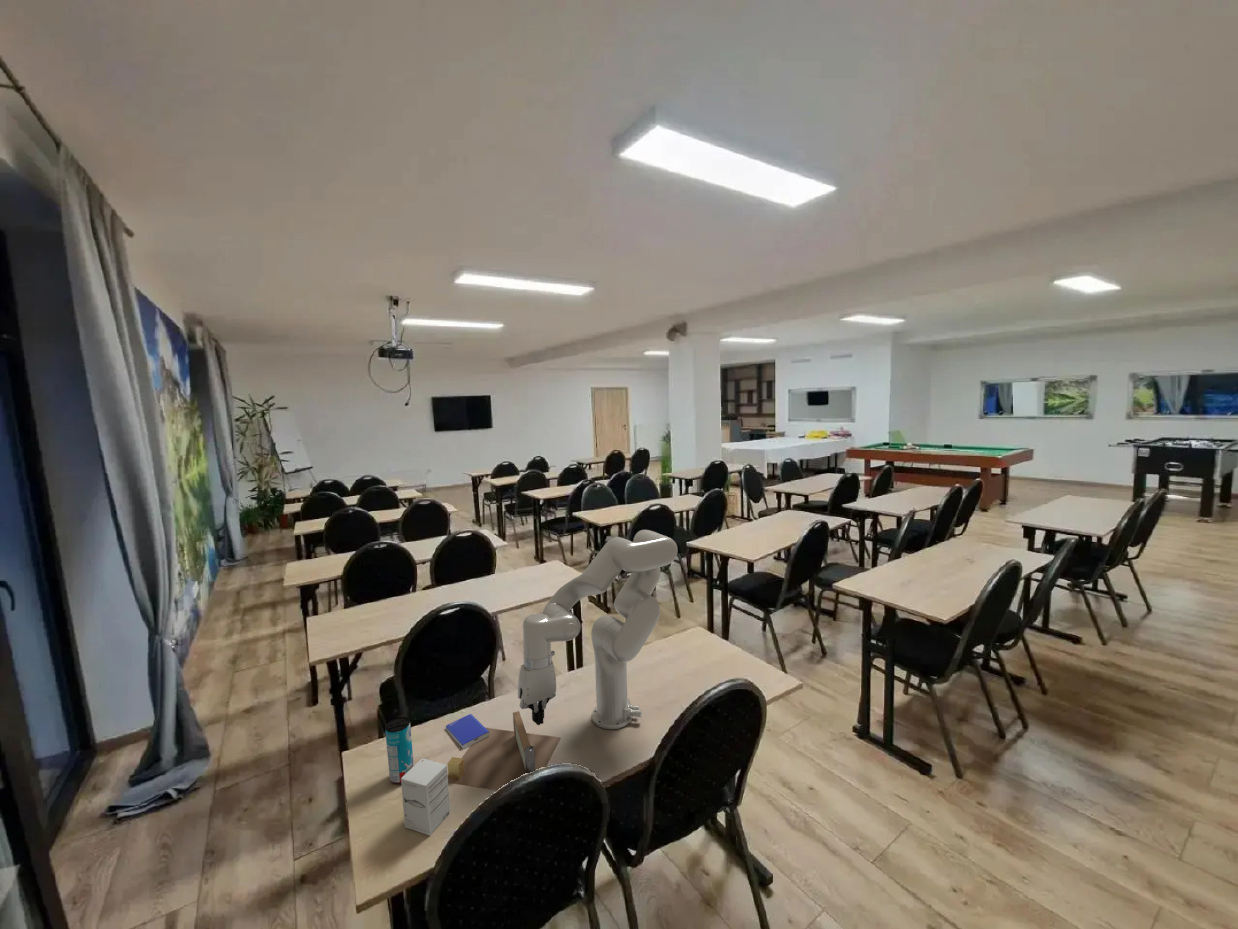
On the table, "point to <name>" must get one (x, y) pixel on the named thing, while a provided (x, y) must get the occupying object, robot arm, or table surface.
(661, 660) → the table surface
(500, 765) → the board
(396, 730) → the beverage can
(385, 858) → the table surface
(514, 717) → the brown and grey board
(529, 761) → the gate posts
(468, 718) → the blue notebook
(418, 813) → the supplement box
